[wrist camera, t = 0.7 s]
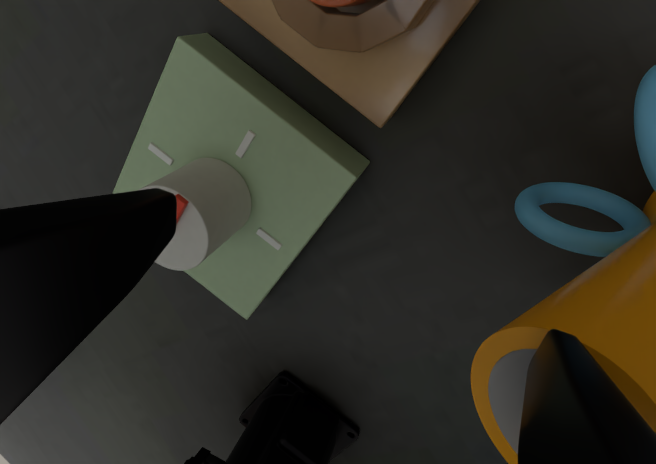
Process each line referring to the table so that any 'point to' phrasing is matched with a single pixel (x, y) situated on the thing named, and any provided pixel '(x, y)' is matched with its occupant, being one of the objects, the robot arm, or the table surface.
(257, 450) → the robot arm
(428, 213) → the table surface
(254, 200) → the dial panel
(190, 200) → the dial
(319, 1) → the top button
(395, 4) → the button block
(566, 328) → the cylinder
